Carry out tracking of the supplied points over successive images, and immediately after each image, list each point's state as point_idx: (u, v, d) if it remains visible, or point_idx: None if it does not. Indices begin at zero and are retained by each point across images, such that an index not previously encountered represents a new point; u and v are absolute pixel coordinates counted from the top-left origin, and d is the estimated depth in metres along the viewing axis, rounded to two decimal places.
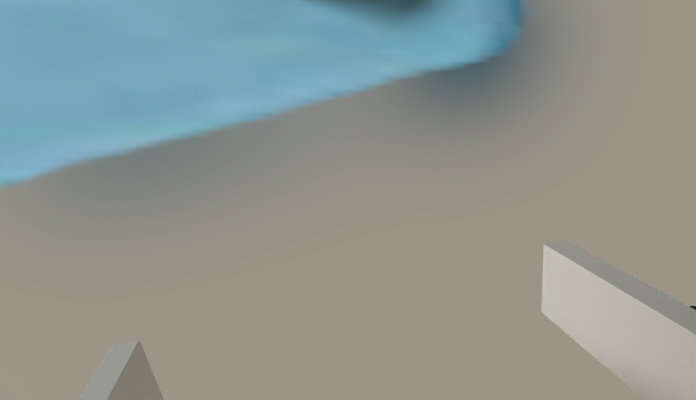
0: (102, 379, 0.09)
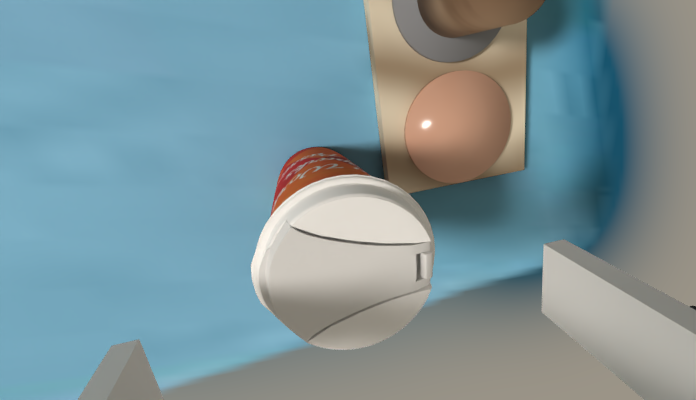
0: (102, 379, 0.09)
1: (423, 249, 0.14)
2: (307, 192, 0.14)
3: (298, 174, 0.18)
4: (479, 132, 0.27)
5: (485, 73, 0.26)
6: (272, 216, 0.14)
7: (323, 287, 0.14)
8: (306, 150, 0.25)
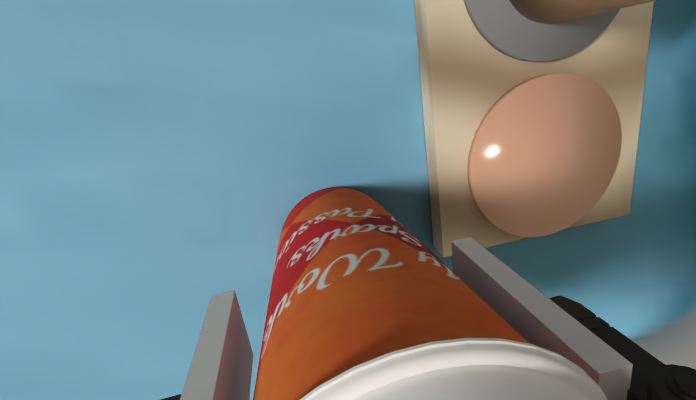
0: (215, 318, 0.11)
1: None
2: (345, 396, 0.05)
3: (314, 269, 0.10)
4: (576, 164, 0.18)
5: (588, 78, 0.17)
6: None
7: None
8: (322, 196, 0.16)
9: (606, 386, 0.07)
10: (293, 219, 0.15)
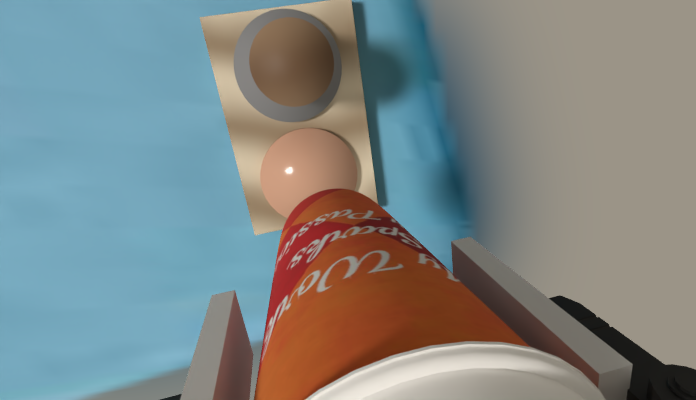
0: (215, 317, 0.11)
1: None
2: None
3: (314, 271, 0.10)
4: (328, 179, 0.30)
5: (330, 129, 0.30)
6: None
7: None
8: (323, 197, 0.16)
9: (606, 386, 0.07)
10: (293, 220, 0.16)
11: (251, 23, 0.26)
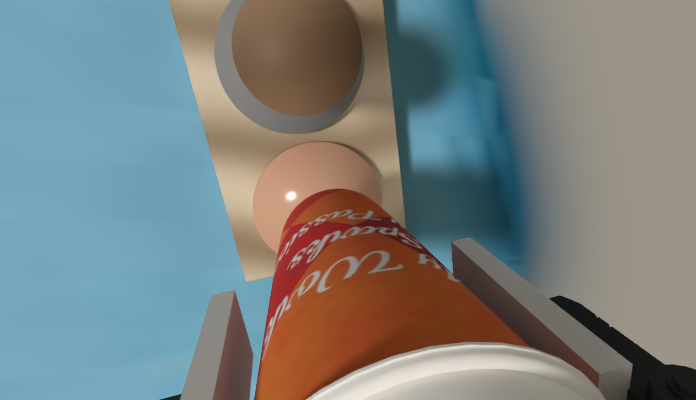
0: (215, 317, 0.11)
1: None
2: None
3: (314, 271, 0.10)
4: None
5: (346, 143, 0.22)
6: None
7: None
8: (323, 197, 0.16)
9: (606, 386, 0.07)
10: (293, 221, 0.16)
11: None
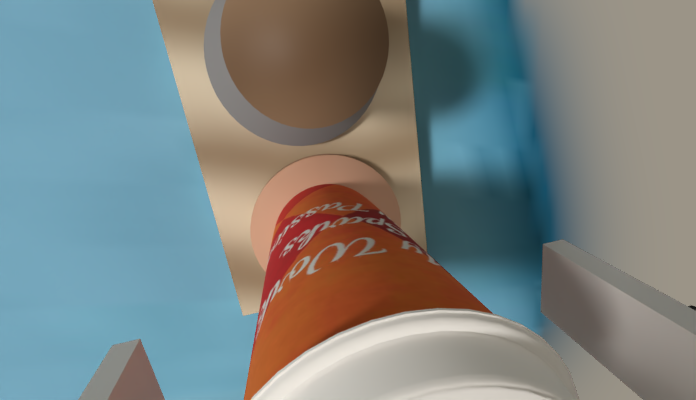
0: (103, 378, 0.09)
1: None
2: (329, 358, 0.06)
3: (304, 257, 0.11)
4: None
5: (360, 156, 0.19)
6: None
7: None
8: (314, 192, 0.17)
9: None
10: (286, 214, 0.16)
11: None
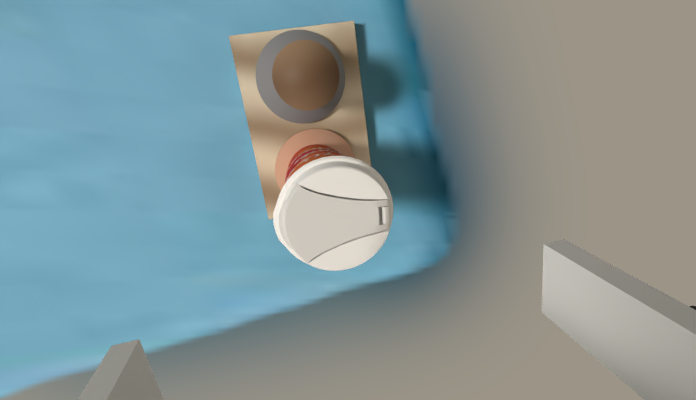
0: (102, 379, 0.09)
1: (383, 204, 0.23)
2: (310, 166, 0.22)
3: (303, 159, 0.27)
4: None
5: (334, 130, 0.35)
6: (287, 181, 0.22)
7: (319, 226, 0.22)
8: (309, 146, 0.33)
9: None
10: (294, 156, 0.32)
11: (271, 41, 0.31)
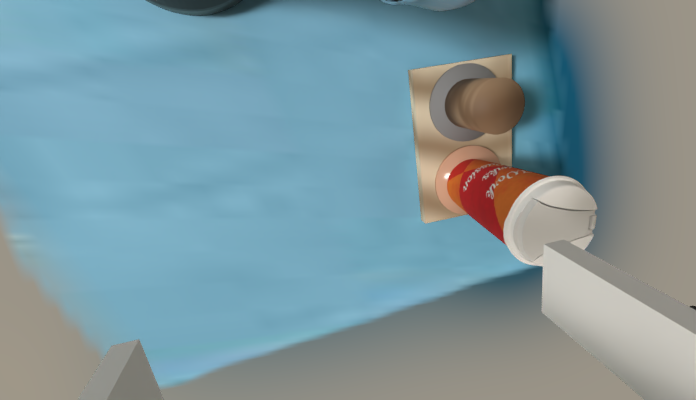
0: (101, 379, 0.09)
1: (592, 213, 0.29)
2: (538, 184, 0.28)
3: (501, 176, 0.33)
4: None
5: (486, 146, 0.41)
6: (519, 196, 0.28)
7: (545, 232, 0.28)
8: (472, 161, 0.39)
9: None
10: (463, 170, 0.38)
11: (447, 73, 0.37)
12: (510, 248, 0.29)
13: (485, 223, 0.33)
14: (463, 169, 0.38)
